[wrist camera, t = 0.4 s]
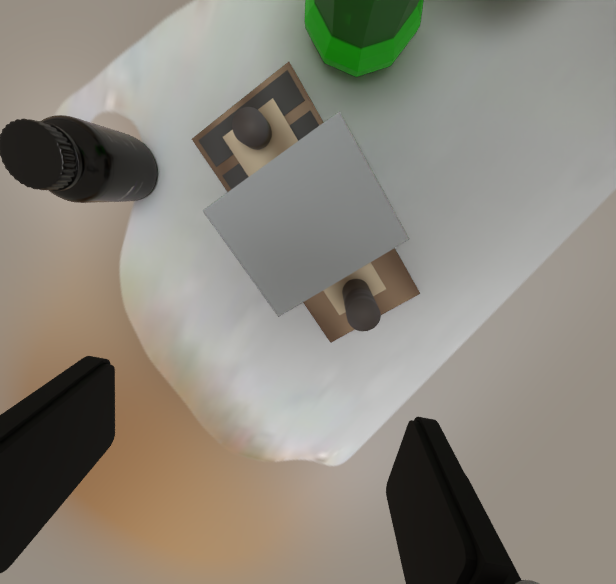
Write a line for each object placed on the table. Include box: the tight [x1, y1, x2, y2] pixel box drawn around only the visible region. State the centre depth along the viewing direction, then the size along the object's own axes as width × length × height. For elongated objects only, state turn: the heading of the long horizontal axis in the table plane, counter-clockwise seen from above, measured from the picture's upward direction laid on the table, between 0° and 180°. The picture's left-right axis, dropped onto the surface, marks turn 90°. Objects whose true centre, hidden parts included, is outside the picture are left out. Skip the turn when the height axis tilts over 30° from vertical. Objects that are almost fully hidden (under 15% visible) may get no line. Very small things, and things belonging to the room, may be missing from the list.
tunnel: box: [203, 111, 409, 317], centre depth 29 cm, size 13×11×8 cm
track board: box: [192, 62, 420, 342], centre depth 34 cm, size 12×27×1 cm, turn 33°
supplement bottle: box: [0, 115, 157, 203], centre depth 28 cm, size 7×7×12 cm
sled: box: [223, 98, 386, 331], centre depth 29 cm, size 6×22×8 cm, turn 33°
